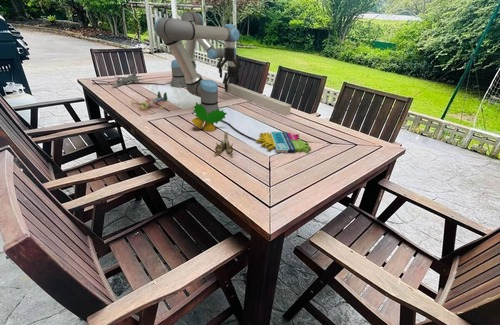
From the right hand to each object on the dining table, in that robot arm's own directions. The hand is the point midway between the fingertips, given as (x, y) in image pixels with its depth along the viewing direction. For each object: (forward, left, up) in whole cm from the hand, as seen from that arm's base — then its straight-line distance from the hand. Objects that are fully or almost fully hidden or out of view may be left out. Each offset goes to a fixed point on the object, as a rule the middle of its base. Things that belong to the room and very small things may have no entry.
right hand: (228, 77), depth 204 cm
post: (+4, -24, -21) cm, 32 cm away
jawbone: (-85, +19, -21) cm, 89 cm away
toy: (-1, +58, -21) cm, 62 cm away
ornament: (-52, +23, -21) cm, 61 cm away
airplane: (+70, +84, -21) cm, 111 cm away
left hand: (+35, -10, -20) cm, 42 cm away
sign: (-79, -16, -21) cm, 83 cm away
